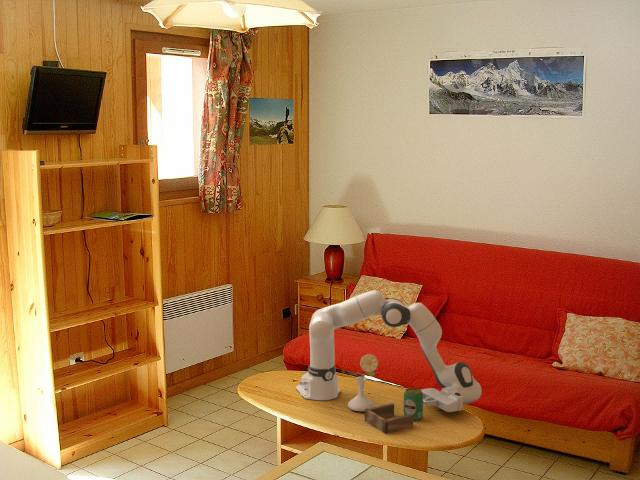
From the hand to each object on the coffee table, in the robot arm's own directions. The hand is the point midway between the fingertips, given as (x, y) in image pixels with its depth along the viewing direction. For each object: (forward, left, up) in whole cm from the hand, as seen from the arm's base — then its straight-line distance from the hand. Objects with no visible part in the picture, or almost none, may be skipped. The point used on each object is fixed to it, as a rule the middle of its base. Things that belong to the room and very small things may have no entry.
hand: (424, 403), depth 324 cm
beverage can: (0, -6, -6) cm, 8 cm away
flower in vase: (-19, -19, -6) cm, 27 cm away
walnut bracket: (0, -18, -5) cm, 19 cm away
